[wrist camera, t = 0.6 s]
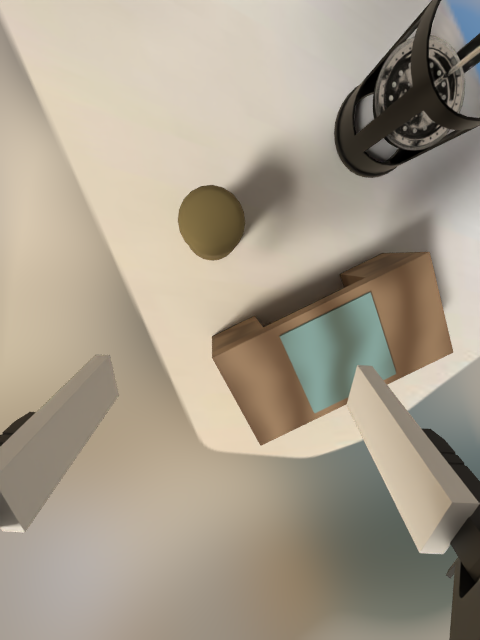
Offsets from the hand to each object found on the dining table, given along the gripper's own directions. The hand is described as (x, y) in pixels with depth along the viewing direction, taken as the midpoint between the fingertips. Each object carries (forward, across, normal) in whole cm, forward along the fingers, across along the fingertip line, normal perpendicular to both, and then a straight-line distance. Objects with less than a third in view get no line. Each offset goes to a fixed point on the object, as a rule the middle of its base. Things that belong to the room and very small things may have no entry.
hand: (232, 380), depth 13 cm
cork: (+19, -4, +6) cm, 20 cm away
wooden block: (+18, +10, -7) cm, 22 cm away
